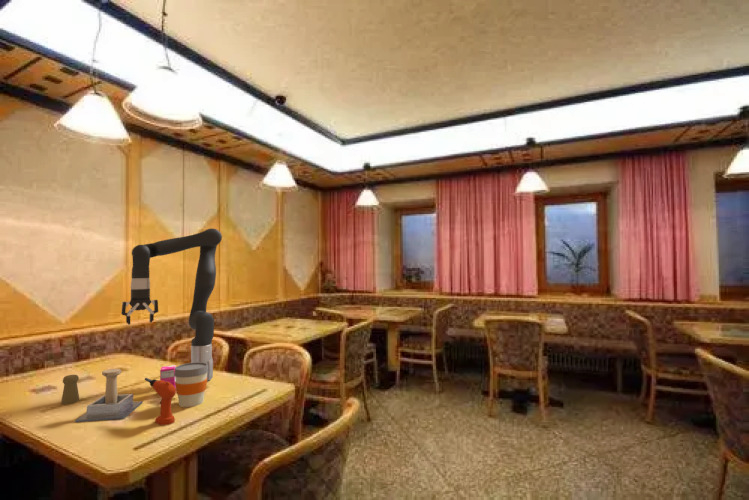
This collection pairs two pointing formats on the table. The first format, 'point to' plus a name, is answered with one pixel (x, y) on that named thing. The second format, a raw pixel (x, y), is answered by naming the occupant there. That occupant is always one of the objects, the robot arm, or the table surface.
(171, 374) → the supplement box
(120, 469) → the table surface
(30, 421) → the table surface
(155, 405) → the table surface
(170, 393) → the toy drill
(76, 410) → the table surface
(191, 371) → the reusable coffee cup
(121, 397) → the chuck block
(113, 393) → the handle
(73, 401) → the pepper shaker
